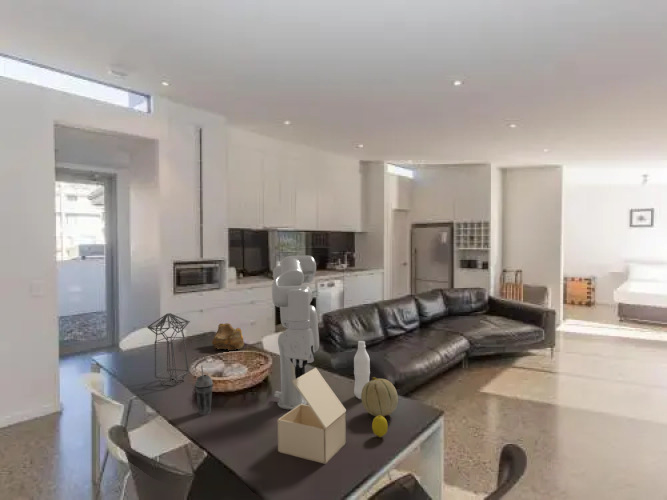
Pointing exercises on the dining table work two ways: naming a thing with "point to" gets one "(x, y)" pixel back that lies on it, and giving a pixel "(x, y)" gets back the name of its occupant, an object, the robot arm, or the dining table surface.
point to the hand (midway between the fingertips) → (299, 377)
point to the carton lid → (319, 397)
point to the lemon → (379, 426)
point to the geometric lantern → (170, 343)
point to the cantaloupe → (379, 397)
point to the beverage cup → (204, 393)
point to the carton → (310, 435)
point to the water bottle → (361, 369)
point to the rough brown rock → (228, 337)
